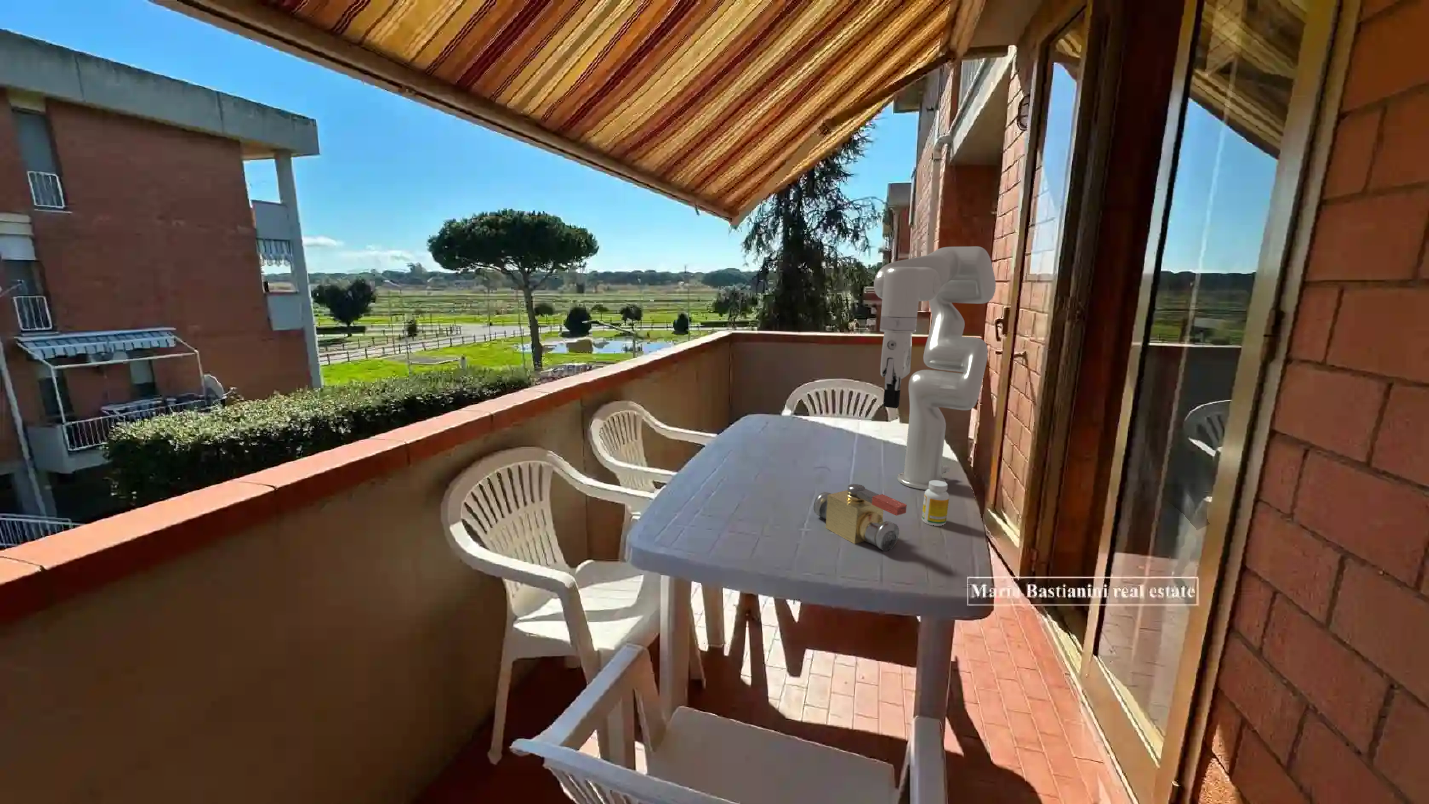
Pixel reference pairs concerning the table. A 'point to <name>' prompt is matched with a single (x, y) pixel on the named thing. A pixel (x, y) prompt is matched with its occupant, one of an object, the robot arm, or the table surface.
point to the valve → (856, 519)
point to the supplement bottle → (935, 503)
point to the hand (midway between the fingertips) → (890, 406)
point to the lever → (877, 499)
